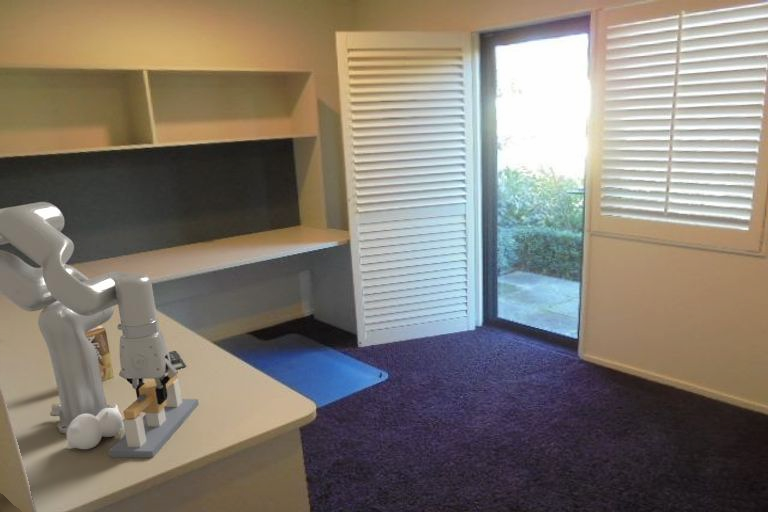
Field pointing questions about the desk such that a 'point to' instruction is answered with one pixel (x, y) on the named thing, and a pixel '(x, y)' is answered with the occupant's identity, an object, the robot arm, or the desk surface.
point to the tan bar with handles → (147, 400)
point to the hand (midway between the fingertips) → (153, 400)
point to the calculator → (176, 360)
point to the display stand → (154, 426)
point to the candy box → (101, 350)
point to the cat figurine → (94, 428)
